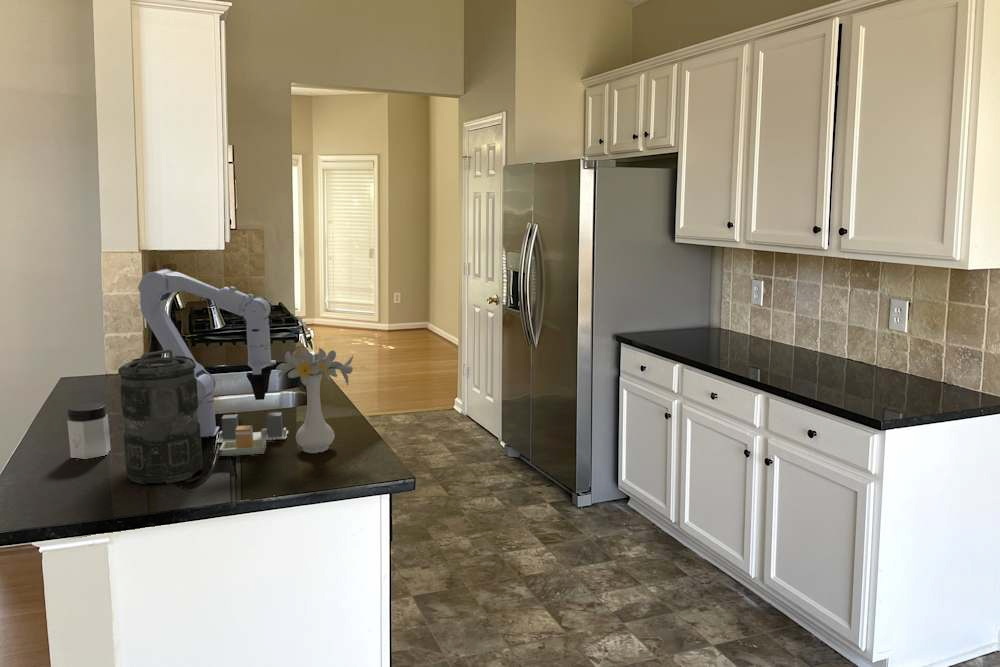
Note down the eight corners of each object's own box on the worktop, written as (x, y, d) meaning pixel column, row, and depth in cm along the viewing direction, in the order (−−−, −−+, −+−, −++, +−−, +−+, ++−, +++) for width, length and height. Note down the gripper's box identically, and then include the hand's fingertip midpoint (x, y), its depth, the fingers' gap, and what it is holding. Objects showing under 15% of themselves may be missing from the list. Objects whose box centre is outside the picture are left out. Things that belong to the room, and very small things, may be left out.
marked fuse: (236, 452, 197) (235, 430, 196) (238, 447, 200) (237, 426, 199) (251, 451, 197) (250, 429, 197) (253, 446, 201) (252, 425, 200)
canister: (156, 491, 172) (146, 361, 167) (111, 478, 180) (101, 353, 176) (218, 470, 185) (210, 349, 181) (173, 458, 194) (165, 342, 189)
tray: (219, 457, 195) (218, 449, 194) (224, 448, 202) (223, 441, 201) (263, 454, 196) (263, 447, 196) (266, 445, 203) (266, 439, 203)
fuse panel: (216, 444, 205) (215, 420, 204) (221, 436, 212) (219, 413, 211) (286, 440, 208) (285, 417, 207) (288, 432, 215) (287, 410, 214)
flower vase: (362, 450, 199) (359, 350, 195) (286, 462, 191) (281, 357, 187) (346, 437, 211) (342, 341, 206) (274, 447, 202) (269, 348, 198)
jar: (62, 458, 194) (58, 409, 192) (89, 448, 202) (84, 401, 200) (92, 461, 192) (88, 412, 190) (118, 451, 199) (114, 403, 197)
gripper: (271, 349, 205) (274, 401, 207) (277, 339, 219) (280, 388, 221) (242, 350, 204) (245, 403, 206) (250, 340, 218) (253, 390, 220)
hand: (261, 395), depth 213 cm, fingers open, 7 cm apart
